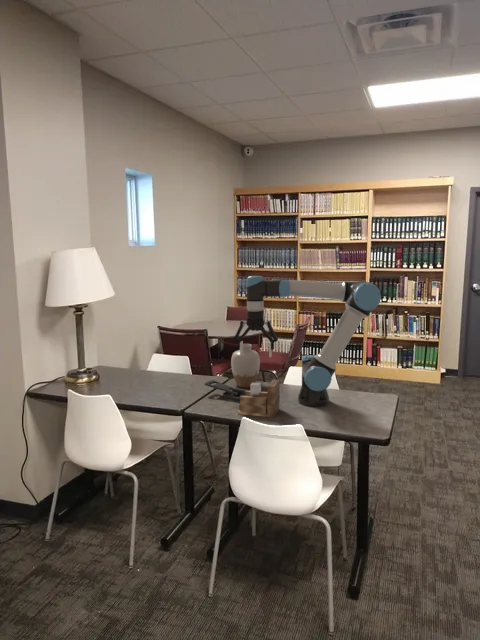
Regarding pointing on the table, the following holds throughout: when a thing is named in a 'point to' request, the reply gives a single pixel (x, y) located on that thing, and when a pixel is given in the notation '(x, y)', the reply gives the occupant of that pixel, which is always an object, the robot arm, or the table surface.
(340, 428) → the table surface
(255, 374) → the vase
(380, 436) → the table surface
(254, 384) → the white tall block
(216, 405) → the table surface
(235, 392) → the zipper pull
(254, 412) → the wooden box
